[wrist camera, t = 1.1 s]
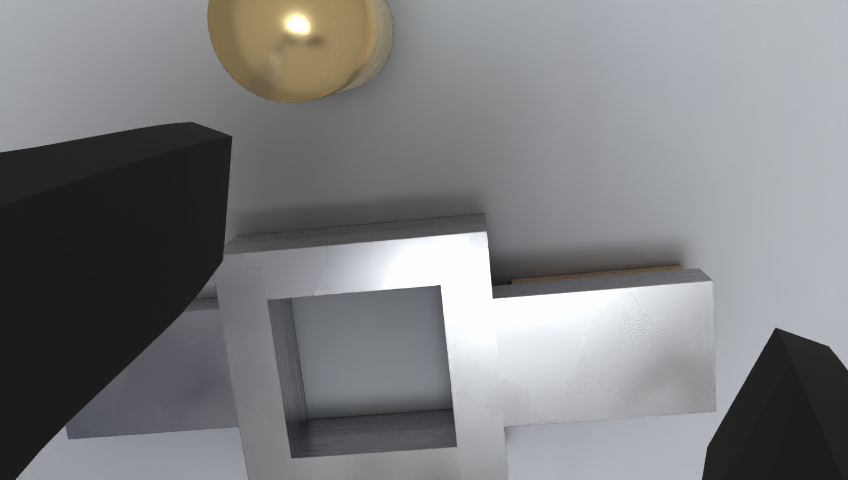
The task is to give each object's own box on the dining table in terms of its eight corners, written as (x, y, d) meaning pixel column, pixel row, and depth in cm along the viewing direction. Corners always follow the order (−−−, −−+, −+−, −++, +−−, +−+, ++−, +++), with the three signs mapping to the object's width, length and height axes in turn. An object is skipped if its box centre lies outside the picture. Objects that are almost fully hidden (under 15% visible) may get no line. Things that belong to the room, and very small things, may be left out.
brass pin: (285, 96, 22) (221, 110, 16) (269, -24, 21) (195, -55, 15) (400, 85, 22) (375, 94, 16) (386, -37, 21) (357, -74, 15)
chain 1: (98, 473, 25) (80, 494, 24) (51, 252, 23) (29, 263, 22) (504, 445, 24) (506, 465, 23) (484, 213, 22) (485, 222, 21)
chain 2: (272, 461, 25) (252, 504, 22) (236, 236, 23) (210, 256, 21) (692, 431, 24) (717, 473, 21) (685, 195, 22) (711, 211, 20)
